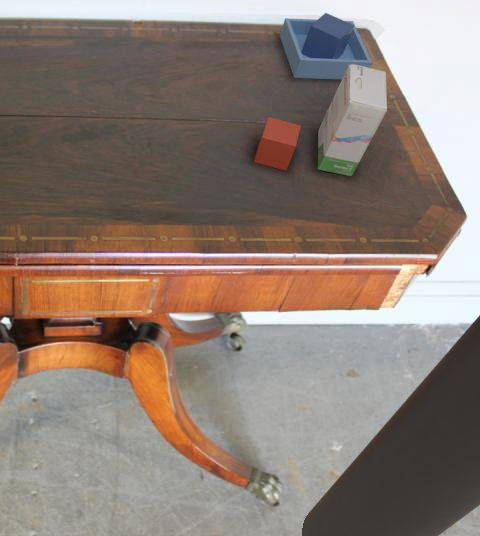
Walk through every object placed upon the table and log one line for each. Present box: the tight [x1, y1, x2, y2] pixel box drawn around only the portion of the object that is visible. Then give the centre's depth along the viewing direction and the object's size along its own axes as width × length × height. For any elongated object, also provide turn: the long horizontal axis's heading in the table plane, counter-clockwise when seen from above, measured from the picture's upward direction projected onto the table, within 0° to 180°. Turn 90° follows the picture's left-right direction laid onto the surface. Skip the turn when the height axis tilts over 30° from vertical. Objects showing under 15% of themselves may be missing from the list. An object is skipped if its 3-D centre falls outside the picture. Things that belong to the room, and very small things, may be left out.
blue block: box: [301, 12, 354, 59], centre depth 112 cm, size 5×5×5 cm
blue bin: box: [279, 17, 373, 81], centre depth 113 cm, size 11×11×3 cm
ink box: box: [316, 64, 388, 177], centre depth 95 cm, size 9×5×12 cm, turn 167°
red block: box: [253, 116, 302, 172], centre depth 97 cm, size 4×4×4 cm
